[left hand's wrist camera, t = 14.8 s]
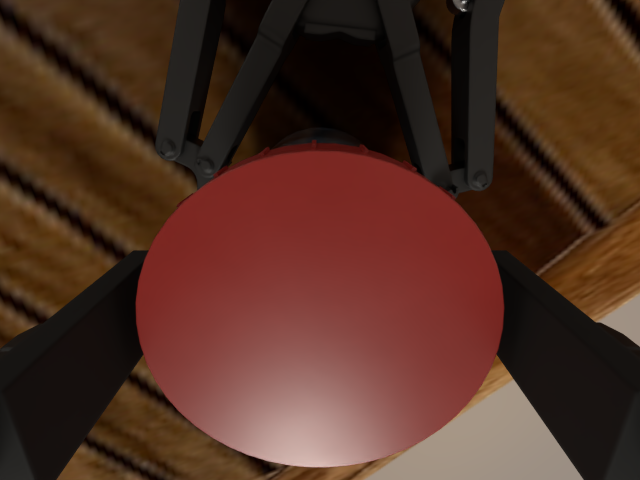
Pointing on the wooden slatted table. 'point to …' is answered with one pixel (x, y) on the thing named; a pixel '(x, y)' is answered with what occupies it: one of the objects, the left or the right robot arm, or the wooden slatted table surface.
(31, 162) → the wooden slatted table surface
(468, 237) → the lid
